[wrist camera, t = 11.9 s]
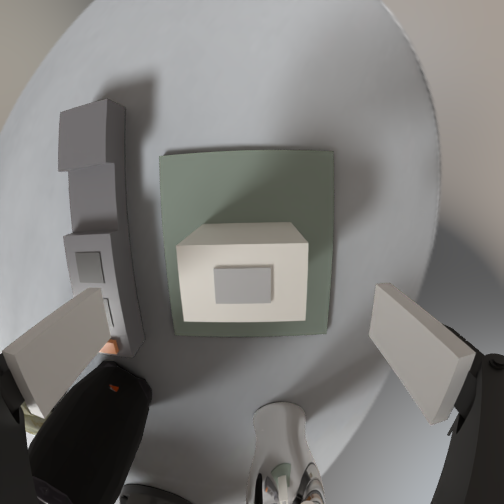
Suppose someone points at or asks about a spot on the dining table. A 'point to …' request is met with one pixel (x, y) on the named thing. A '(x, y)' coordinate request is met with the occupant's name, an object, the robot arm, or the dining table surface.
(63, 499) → the portable speaker
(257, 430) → the beer glass
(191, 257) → the block
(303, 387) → the dining table surface
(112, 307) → the power strip
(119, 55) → the dining table surface
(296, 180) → the mat
